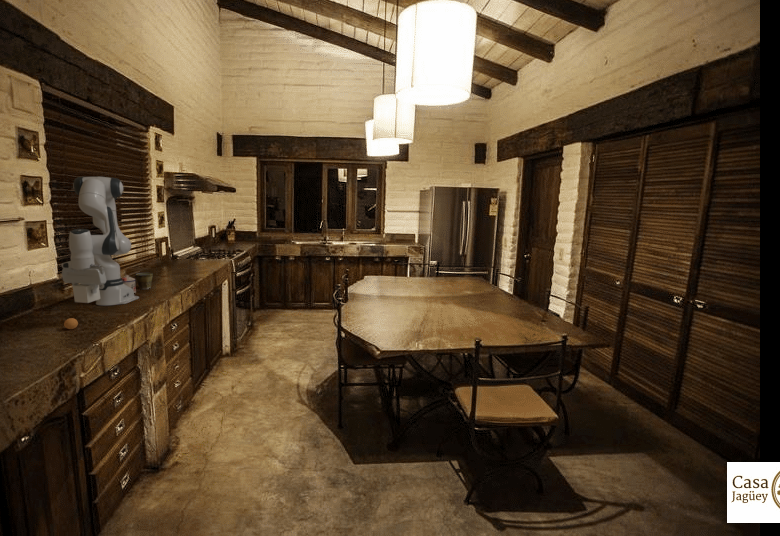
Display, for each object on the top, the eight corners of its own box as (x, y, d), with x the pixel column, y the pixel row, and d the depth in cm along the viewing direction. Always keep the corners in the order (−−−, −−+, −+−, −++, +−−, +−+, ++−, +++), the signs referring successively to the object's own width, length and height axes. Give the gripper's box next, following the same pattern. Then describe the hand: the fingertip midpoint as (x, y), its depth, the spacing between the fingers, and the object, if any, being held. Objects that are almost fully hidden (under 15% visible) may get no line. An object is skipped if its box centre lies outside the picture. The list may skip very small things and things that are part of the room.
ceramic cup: (157, 287, 280) (156, 273, 278) (144, 290, 270) (143, 275, 269) (142, 286, 284) (141, 271, 282) (129, 288, 274) (128, 274, 273)
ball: (59, 321, 184) (62, 330, 186) (69, 321, 184) (72, 331, 185) (69, 316, 189) (72, 325, 191) (78, 316, 188) (81, 326, 190)
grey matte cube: (87, 298, 199) (85, 282, 198) (100, 298, 198) (98, 283, 197) (74, 302, 193) (72, 285, 191) (88, 302, 192) (85, 286, 190)
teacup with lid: (133, 294, 257) (131, 276, 255) (117, 295, 255) (115, 276, 254) (140, 290, 269) (139, 273, 267) (124, 291, 267) (123, 273, 265)
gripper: (108, 264, 194) (110, 292, 196) (70, 262, 197) (73, 290, 199) (97, 266, 187) (99, 295, 190) (58, 264, 190) (61, 293, 193)
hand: (86, 292), depth 194 cm, fingers closed on grey matte cube, 7 cm apart
